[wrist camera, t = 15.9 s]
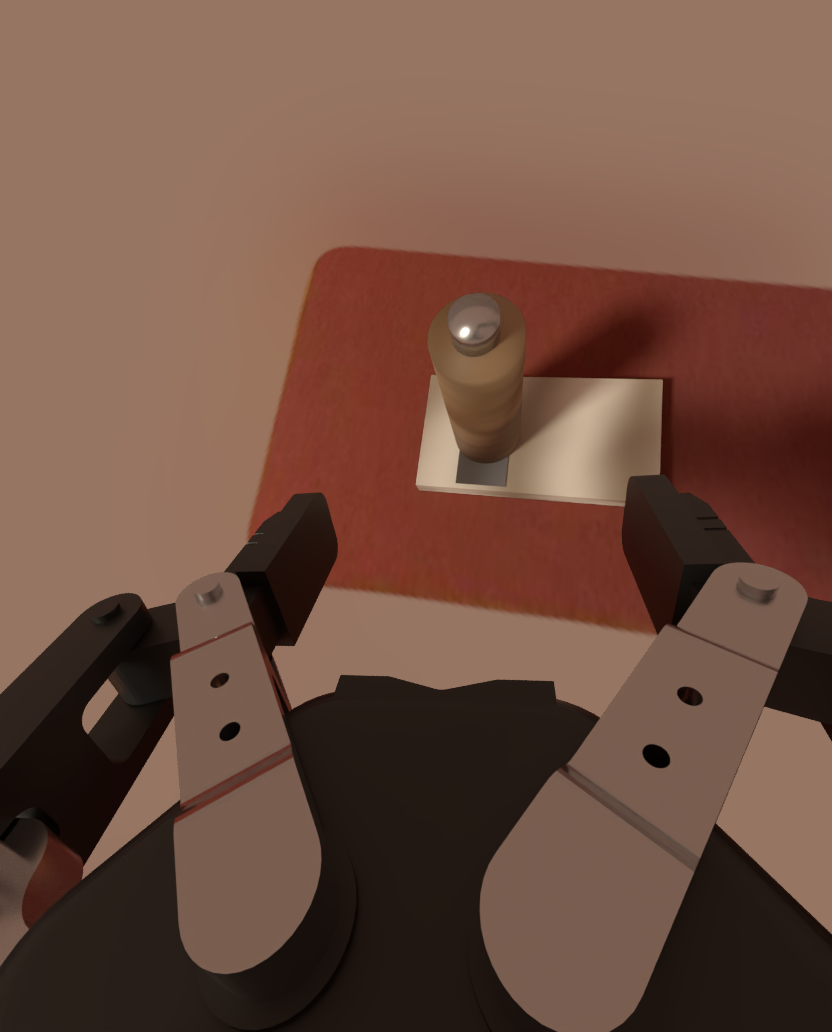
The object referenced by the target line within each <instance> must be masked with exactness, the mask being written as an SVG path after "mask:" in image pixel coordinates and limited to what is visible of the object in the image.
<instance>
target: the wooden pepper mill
mask: <svg viewBox="0 0 832 1032" xmlns="http://www.w3.org/2000/svg"><path fill="white" fill-rule="evenodd" d="M525 342H526V325H525V321H524V318H523V316H522V314H521V312H520V310H519V309H518V308H517V307H516V306H515V305H514V304H513V303H512V302H511V301H509V300H508V299H506V298H504V297H502V296H499V295H496V294H492V293H472V294H468V295H464V296H461V297H459V298H457V299H455V300H453V301H451V302H450V303H448V304H447V305H446V306H445V307H443V308H442V309H441V310H440V311H439V313H438V314H437V315H436V316H435V318H434V320H433V321H432V324H431V326H430V329H429V332H428V349H429V352H430V356H431V359H432V363H433V366H434V369H435V373H436V376H437V379H438V383H439V386H440V389H441V393H442V396H443V400H444V403H445V406H446V410H447V413H448V416H449V420H450V423H451V427H452V430H453V433H454V437H455V440H456V443H457V446H458V448H459V450H460V451H461V453H462V454H463V455H464V456H465V457H467V458H468V459H470V460H472V461H474V462H477V463H484V464H488V463H495V462H498V461H501V460H503V459H504V458H506V457H507V456H509V455H510V454H511V453H512V452H513V451H514V449H515V448H516V446H517V444H518V442H519V438H520V429H521V411H522V394H523V376H524V359H525Z"/></svg>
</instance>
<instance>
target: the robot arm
mask: <svg viewBox="0 0 832 1032" xmlns="http://www.w3.org/2000/svg"><path fill="white" fill-rule="evenodd" d="M622 544H623V550H624V554H625V556H626V559H627V561H628V564H629V566H630V569H631V571H632V573H633V576H634V578H635V581H636V583H637V586H638V588H639V591H640V593H641V595H642V598H643V600H644V603H645V605H646V608H647V610H648V613H649V615H650V618H651V620H652V622H653V625H654V627H655V630H656V632H657V635H658V636H657V637H656V639H655V640H654V642H653V643H652V645H651V646H650V647H649V649H648V651H647V652H646V653H645V655H644V656H643V657H642V659H641V660H640V662H639V663H638V665H637V666H636V667H635V669H634V670H633V672H632V673H631V675H630V676H629V678H628V679H627V680H626V682H625V683H624V685H623V686H622V688H621V689H620V690H619V692H618V693H617V695H616V696H615V698H614V699H613V701H612V702H611V703H610V705H609V706H608V708H607V709H606V711H605V712H604V713H603V715H602V716H601V718H600V717H598V716H596V715H595V714H593V713H591V712H589V711H587V710H585V709H583V708H581V707H579V706H576V705H573V704H570V703H568V702H565V701H561V700H558V699H556V695H555V687H554V682H553V681H527V680H493V681H488V682H483V683H477V684H472V685H467V686H462V687H456V688H451V689H446V690H438V689H433V688H430V687H426V686H422V685H419V684H415V683H411V682H407V681H404V680H400V679H397V678H393V677H389V676H355V675H341V676H340V679H339V682H338V684H337V687H336V690H335V692H333V693H328V694H325V695H322V696H319V697H316V698H314V699H311V700H309V701H307V702H305V703H303V704H301V705H299V706H297V707H296V708H294V709H292V707H291V704H290V701H289V699H288V696H287V693H286V690H285V688H284V685H283V682H282V679H281V676H280V674H279V671H278V668H277V665H276V662H275V660H274V658H273V655H272V652H273V650H274V648H275V646H295V644H296V642H297V640H298V638H299V636H300V633H301V631H302V629H303V627H304V625H305V623H306V621H307V619H308V617H309V615H310V613H311V611H312V608H313V606H314V604H315V602H316V600H317V598H318V596H319V594H320V592H321V590H322V588H323V586H324V584H325V581H326V579H327V577H328V575H329V573H330V571H331V569H332V567H333V565H334V563H335V561H336V558H337V552H338V543H337V537H336V534H335V530H334V527H333V523H332V519H331V516H330V512H329V509H328V505H327V501H326V499H325V497H324V495H323V494H322V493H304V494H294V495H293V496H292V498H291V499H290V500H289V501H288V503H287V504H286V505H285V507H284V508H283V509H282V511H281V512H277V513H276V514H274V515H273V516H271V517H270V518H269V519H267V520H266V521H264V522H263V523H262V525H261V526H260V527H259V528H258V530H257V531H256V532H255V535H253V536H252V537H251V539H250V540H249V541H248V545H245V546H244V547H243V549H242V550H241V551H240V553H239V554H238V555H237V556H236V558H235V559H234V560H233V561H232V563H231V564H230V565H229V566H228V568H227V569H226V570H225V571H224V572H221V573H215V574H210V575H207V576H204V577H202V578H200V579H198V580H196V581H194V582H193V583H191V584H190V585H188V586H187V587H186V588H185V589H184V590H183V591H182V592H181V593H180V594H179V596H178V598H177V600H176V603H172V604H167V605H163V606H159V607H154V608H150V609H147V608H146V606H145V604H144V603H143V601H142V600H141V598H140V597H139V596H138V595H136V594H133V593H125V594H119V595H115V596H112V597H109V598H107V599H104V600H102V601H100V602H98V603H96V604H95V605H93V606H91V607H90V608H89V609H87V610H86V611H84V612H83V613H82V614H81V615H80V616H79V617H78V618H77V619H76V620H75V621H74V622H73V623H72V624H71V625H70V626H69V627H68V628H67V629H66V630H65V631H64V632H63V633H62V634H61V635H60V636H59V637H58V638H57V639H56V640H55V641H54V642H53V643H52V644H51V645H50V646H49V647H48V648H47V649H46V650H45V651H44V652H43V653H42V654H41V655H40V656H39V657H38V658H37V659H36V660H35V661H34V662H33V663H32V664H31V665H30V666H29V667H28V668H26V670H25V671H24V672H22V673H21V674H20V675H19V676H18V678H16V679H15V680H14V681H13V683H11V684H10V685H9V686H8V687H7V688H6V689H5V690H4V691H3V692H2V693H1V694H0V1032H832V934H831V933H830V932H829V931H828V930H827V929H826V928H825V927H823V926H822V925H821V924H820V923H819V922H818V921H817V920H816V919H815V918H814V917H813V916H812V915H811V914H810V913H809V912H808V911H807V910H806V909H804V907H803V906H802V905H800V904H799V903H798V902H797V901H796V900H795V899H794V898H793V897H792V896H791V895H790V894H789V893H788V892H787V891H786V890H785V889H784V888H783V887H782V886H781V885H780V884H778V883H777V881H775V880H774V879H773V878H772V877H771V876H770V875H769V874H768V873H767V872H766V871H765V870H764V869H763V868H762V867H761V866H760V865H759V864H758V863H757V862H756V861H755V860H754V859H752V858H751V857H750V856H749V855H748V854H747V853H746V852H745V851H744V850H743V849H742V848H741V847H740V846H739V845H738V844H737V843H736V842H735V841H734V840H733V839H731V837H730V836H728V835H727V834H726V833H725V832H724V831H723V830H722V829H721V828H720V827H719V826H718V825H717V824H716V821H717V819H718V816H719V814H720V812H721V809H722V807H723V804H724V801H725V799H726V797H727V795H728V792H729V790H730V787H731V785H732V782H733V780H734V778H735V775H736V773H737V771H738V768H739V765H740V763H741V761H742V758H743V756H744V754H745V751H746V749H747V746H748V744H749V742H750V739H751V737H752V734H753V732H754V729H755V727H756V725H757V722H758V720H759V718H760V715H761V713H762V710H763V708H764V707H768V708H772V709H775V710H779V711H782V712H786V713H790V714H793V715H797V716H800V717H804V718H808V719H811V720H815V721H819V722H821V724H822V726H823V727H824V729H825V731H826V732H827V734H828V736H829V737H830V739H831V741H832V602H828V601H823V600H818V599H813V598H810V597H807V593H806V591H805V589H804V588H803V587H802V585H801V584H799V583H798V582H797V581H796V580H795V579H793V578H792V577H790V576H789V575H787V574H785V573H783V572H781V571H779V570H776V569H774V568H771V567H768V566H764V565H760V564H755V563H754V561H753V560H752V559H751V558H750V556H749V555H748V554H747V553H746V551H745V550H744V549H743V547H742V546H741V545H740V544H739V542H738V541H737V540H736V539H735V537H734V536H733V535H732V534H731V532H730V531H729V530H727V527H726V526H725V525H724V523H723V522H722V521H721V520H720V519H718V516H717V515H716V513H715V512H714V511H713V510H712V508H711V507H710V506H709V504H707V503H706V502H704V501H702V500H701V499H699V498H697V497H695V496H694V495H692V494H690V493H681V494H679V493H678V492H677V490H676V489H675V488H674V486H673V485H672V483H671V482H670V481H669V479H668V478H667V476H666V475H664V474H661V475H643V476H631V477H630V478H629V480H628V484H627V492H626V500H625V509H624V517H623V526H622ZM107 679H109V681H110V682H111V684H112V685H113V686H114V687H115V689H116V690H117V692H118V693H119V694H118V695H117V697H116V698H115V699H114V700H113V702H112V703H111V704H110V706H109V707H108V708H107V710H106V711H105V712H104V714H103V715H102V716H101V718H100V719H99V720H98V722H97V723H96V725H95V726H94V727H93V728H92V730H91V731H90V732H89V734H87V733H86V732H85V730H84V729H83V726H82V715H83V712H84V709H85V707H86V705H87V704H88V702H89V701H90V700H91V698H92V697H93V696H94V695H95V693H96V692H97V691H98V690H99V688H100V687H101V686H102V685H103V684H104V682H105V681H106V680H107ZM173 716H174V717H175V732H176V745H177V758H178V770H179V771H178V772H179V785H180V798H181V799H180V800H179V801H178V802H177V803H175V804H174V805H173V806H172V807H171V808H170V809H168V810H167V811H166V812H164V813H163V814H162V815H161V816H160V817H158V818H157V819H156V820H155V821H153V822H152V823H151V824H150V825H149V826H147V827H146V828H145V829H144V830H143V831H141V832H140V833H139V834H138V835H136V836H135V837H134V838H133V839H132V840H130V841H129V842H128V843H127V844H125V845H124V846H123V847H122V848H121V849H119V850H118V851H117V852H116V853H115V854H113V855H112V856H111V857H110V858H108V859H107V860H106V861H105V862H104V863H102V864H101V865H100V866H99V867H97V868H96V869H95V870H94V871H92V872H91V873H90V874H89V875H88V876H86V877H85V878H84V879H83V880H82V876H83V867H84V865H85V863H86V862H87V860H88V858H89V857H90V855H91V853H92V851H93V850H94V848H95V847H96V845H97V843H98V842H99V840H100V838H101V837H102V835H103V833H104V832H105V830H106V828H107V827H108V825H109V823H110V822H111V820H112V818H113V817H114V815H115V813H116V811H117V810H118V808H119V807H120V805H121V803H122V802H123V800H124V798H125V796H126V795H127V793H128V791H129V790H130V788H131V787H132V785H133V783H134V782H135V780H136V778H137V777H138V775H139V773H140V772H141V770H142V768H143V767H144V765H145V763H146V762H147V760H148V758H149V757H150V755H151V753H152V752H153V750H154V748H155V746H156V745H157V743H158V741H159V740H160V738H161V736H162V735H163V733H164V731H165V730H166V728H167V727H168V725H169V723H170V722H171V719H172V718H173Z"/></svg>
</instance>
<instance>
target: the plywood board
mask: <svg viewBox="0 0 832 1032" xmlns="http://www.w3.org/2000/svg"><path fill="white" fill-rule="evenodd" d="M662 388H663V380H655V379H605V378H555V377H523V394H522V411H521V429H520V438H519V442H518V444H517V446H516V448H515V449H514V451H513V452H512V453H511V454H510V455H509V456H507V457H506V458H504V459H503V460H501V461H498V462H495V463H488V464H484V463H477V462H474V461H472V460H470V459H468V458H467V457H465V456H464V455H463V454H462V453H461V451H460V450H459V448H458V446H457V443H456V440H455V437H454V433H453V430H452V427H451V423H450V420H449V416H448V413H447V410H446V406H445V403H444V400H443V396H442V393H441V389H440V386H439V383H438V379H437V376H436V375H431V381H430V388H429V395H428V402H427V409H426V416H425V423H424V430H423V437H422V444H421V451H420V458H419V465H418V472H417V479H416V486H417V487H418V489H419V490H423V491H436V492H448V493H461V494H474V495H486V496H499V497H511V498H524V499H537V500H549V501H562V502H574V503H587V504H600V505H612V506H625V500H626V492H627V484H628V480H629V478H630V477H631V476H643V475H660V458H661V423H662Z"/></svg>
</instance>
